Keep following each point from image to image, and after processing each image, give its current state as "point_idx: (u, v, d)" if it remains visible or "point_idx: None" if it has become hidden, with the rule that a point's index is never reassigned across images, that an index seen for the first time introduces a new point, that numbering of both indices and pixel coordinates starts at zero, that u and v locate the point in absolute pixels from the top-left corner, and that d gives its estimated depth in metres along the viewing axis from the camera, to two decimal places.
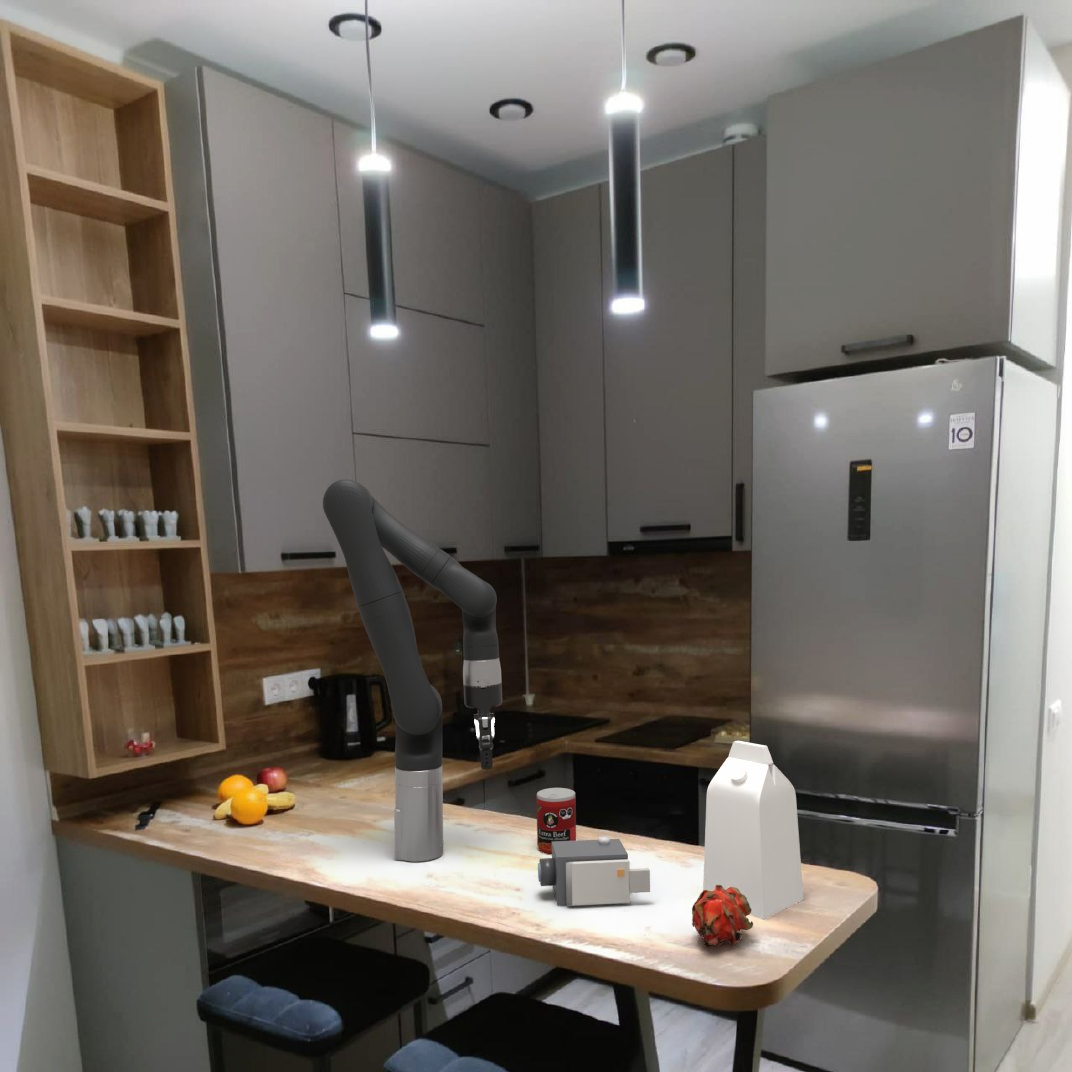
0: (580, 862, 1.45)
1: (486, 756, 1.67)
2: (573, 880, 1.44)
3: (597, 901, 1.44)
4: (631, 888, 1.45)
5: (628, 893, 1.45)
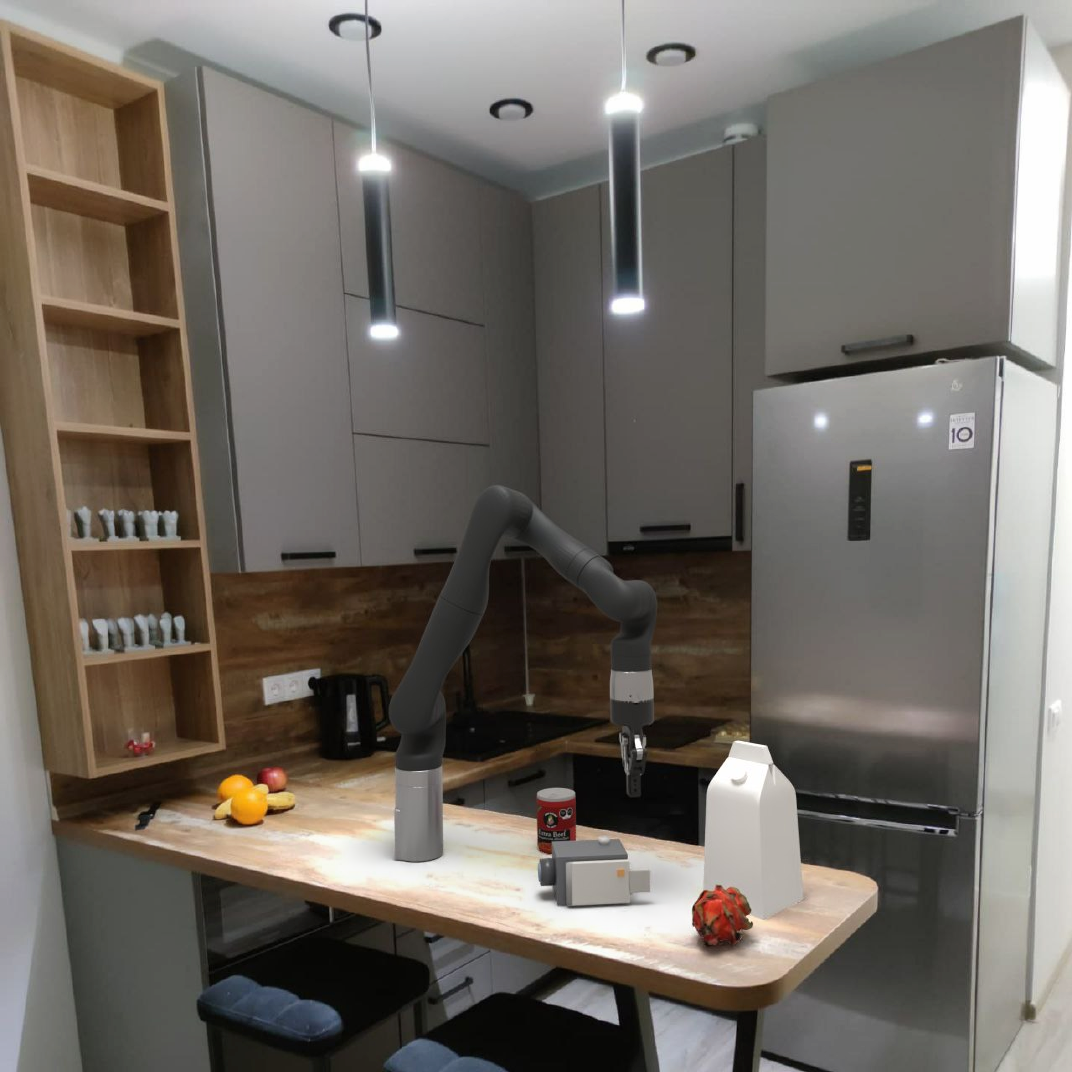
0: (580, 862, 1.45)
1: (635, 782, 1.50)
2: (573, 880, 1.44)
3: (597, 901, 1.44)
4: (631, 888, 1.45)
5: (628, 893, 1.45)
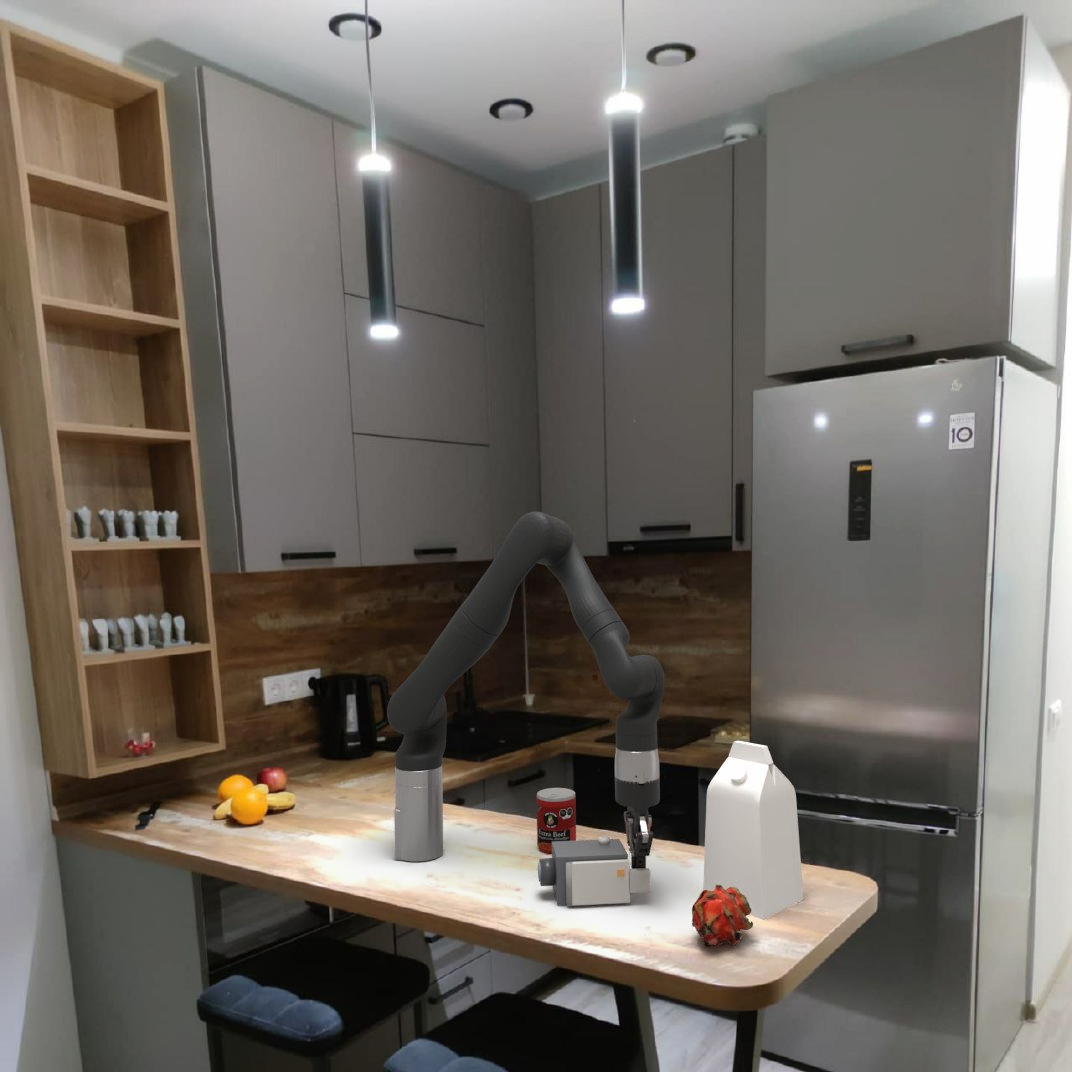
0: (580, 862, 1.45)
1: (640, 864, 1.47)
2: (573, 880, 1.44)
3: (597, 901, 1.44)
4: (631, 888, 1.45)
5: (628, 893, 1.45)
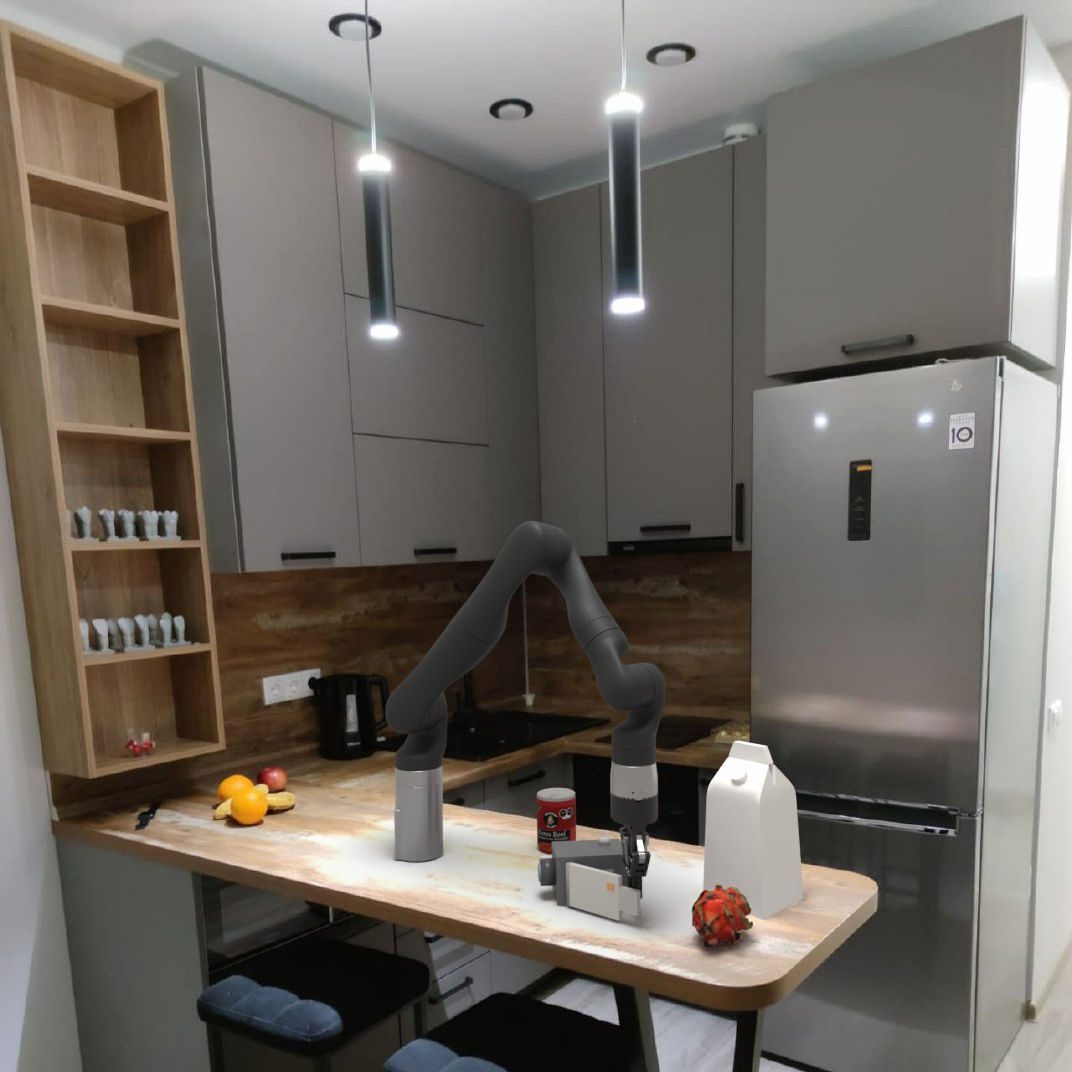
0: (578, 865, 1.43)
1: (636, 884, 1.38)
2: (570, 881, 1.44)
3: (590, 909, 1.41)
4: (620, 906, 1.38)
5: (617, 910, 1.38)
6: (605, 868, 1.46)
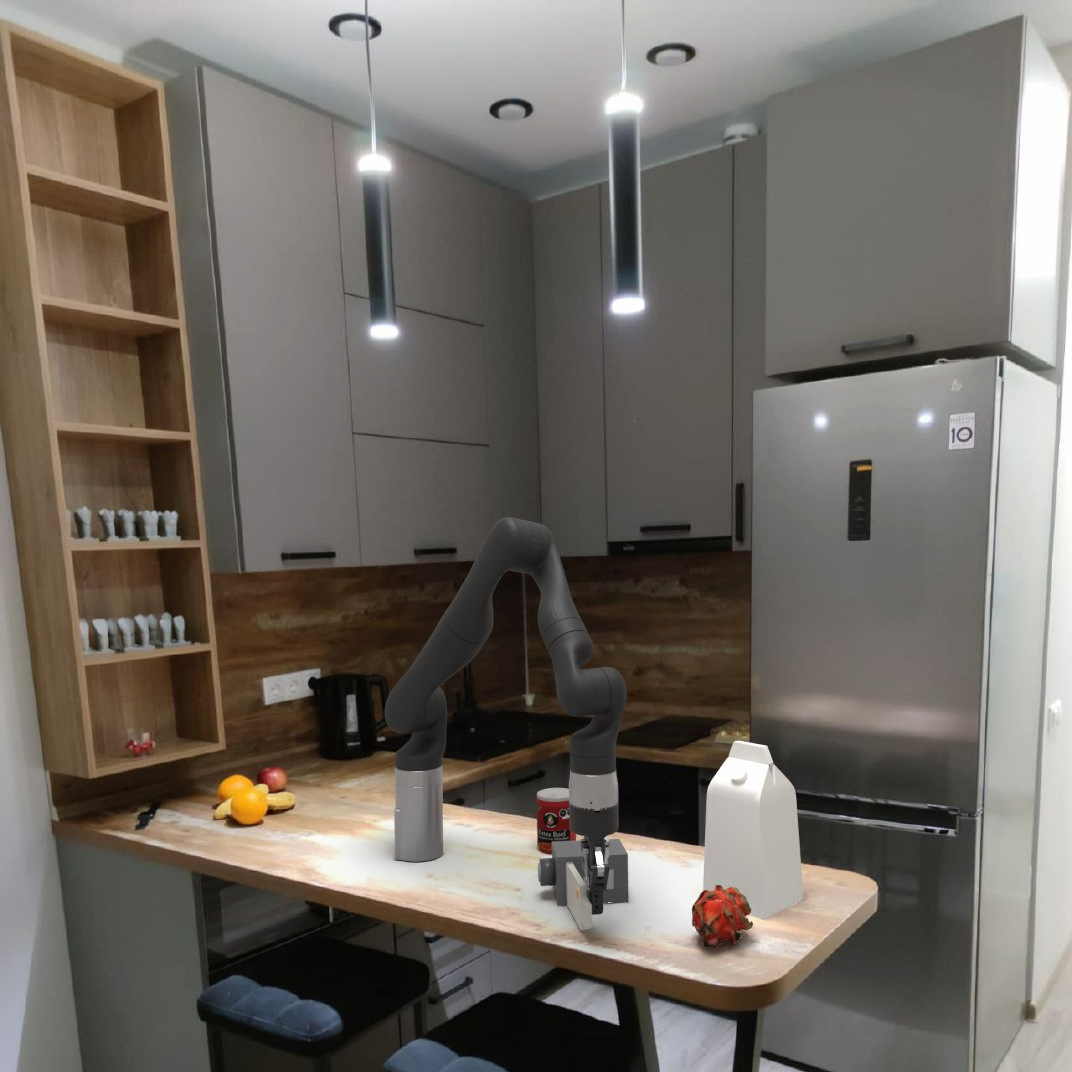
0: (571, 866, 1.43)
1: (596, 898, 1.32)
2: (567, 881, 1.44)
3: (572, 912, 1.40)
4: (580, 915, 1.34)
5: (579, 919, 1.35)
6: None
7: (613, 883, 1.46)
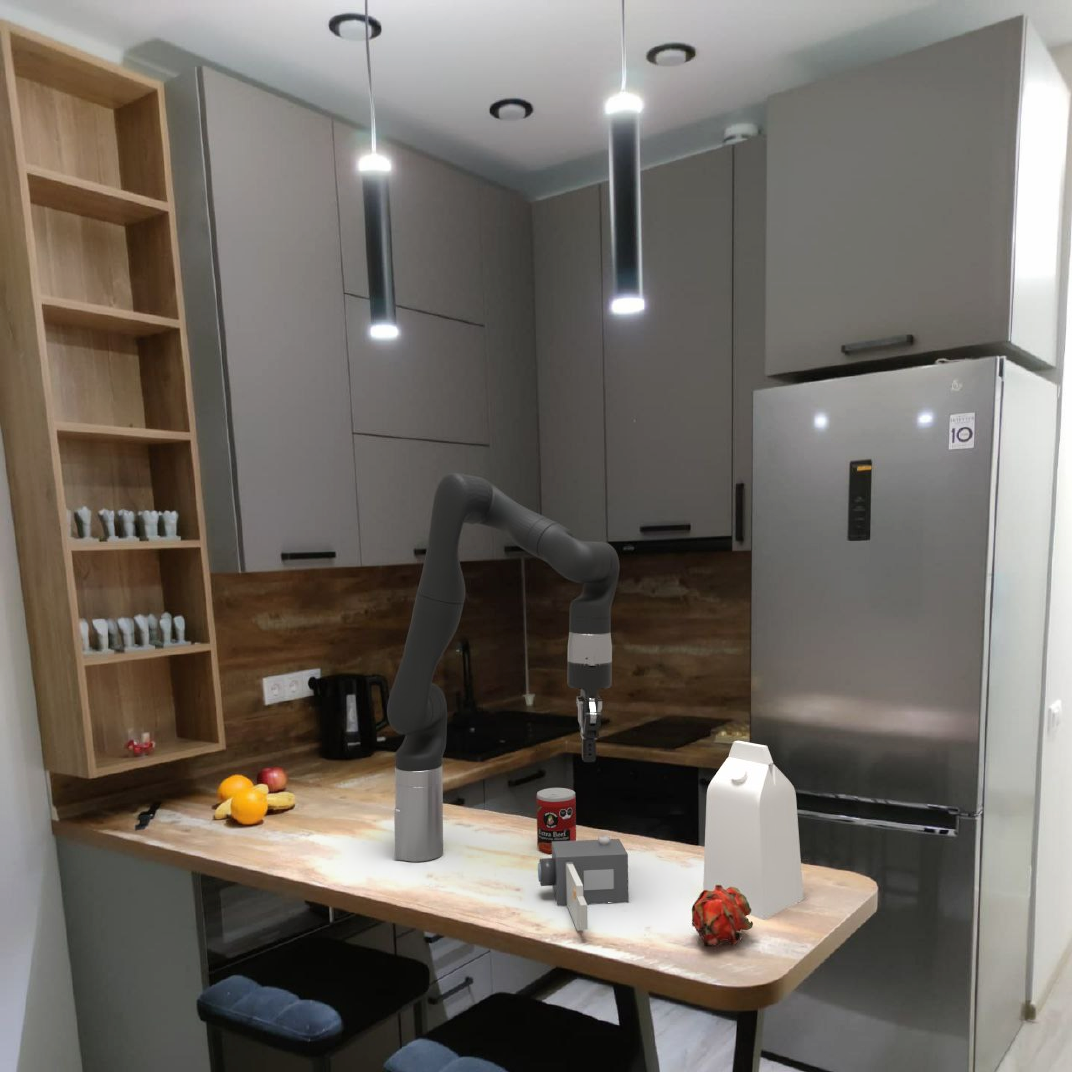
0: (571, 867, 1.43)
1: (589, 747, 1.47)
2: (567, 881, 1.44)
3: (571, 912, 1.40)
4: (577, 915, 1.34)
5: (576, 919, 1.35)
6: (605, 868, 1.46)
7: (613, 883, 1.46)
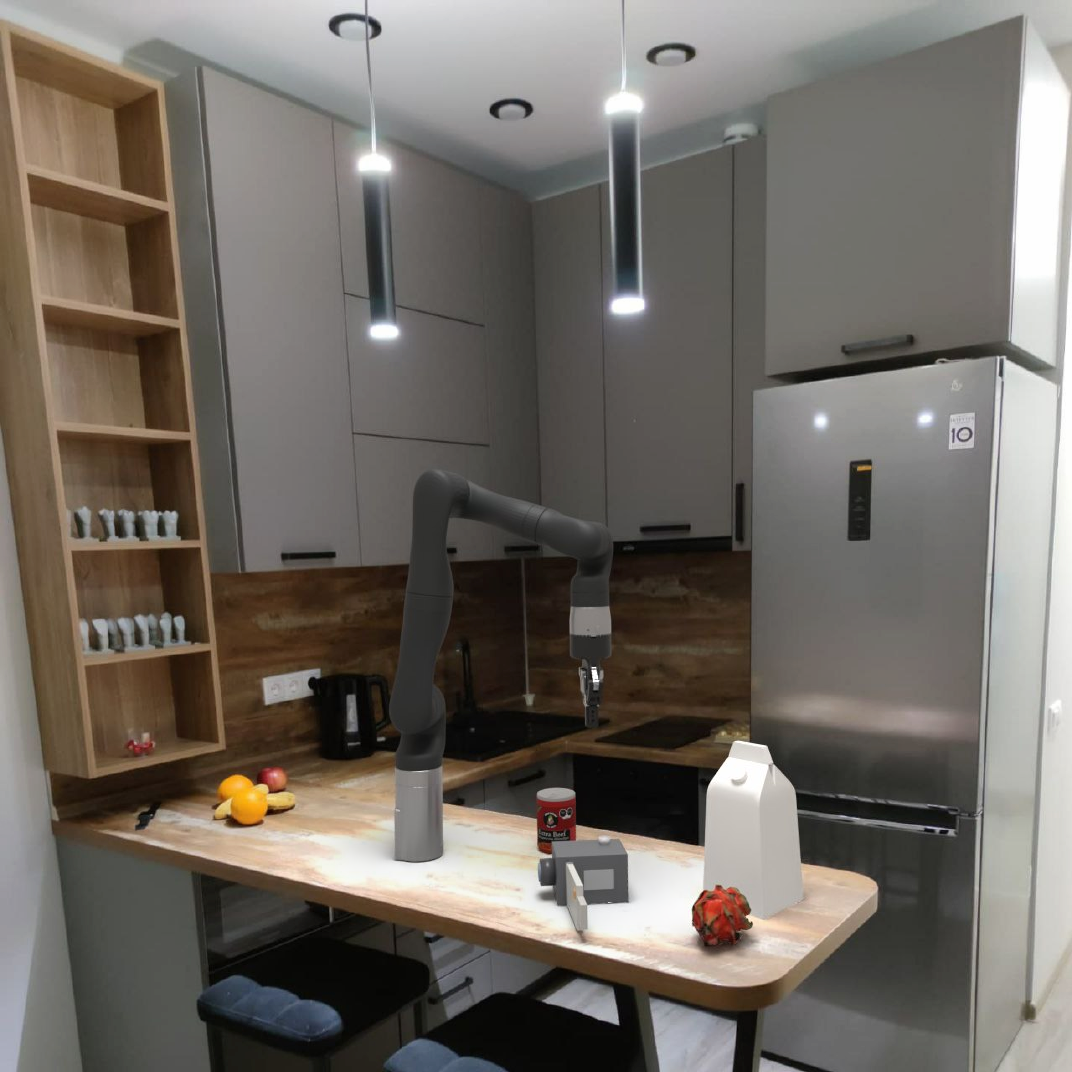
0: (571, 867, 1.43)
1: (592, 713, 1.57)
2: (567, 881, 1.44)
3: (571, 912, 1.40)
4: (577, 915, 1.34)
5: (576, 919, 1.35)
6: (605, 868, 1.46)
7: (613, 883, 1.46)
